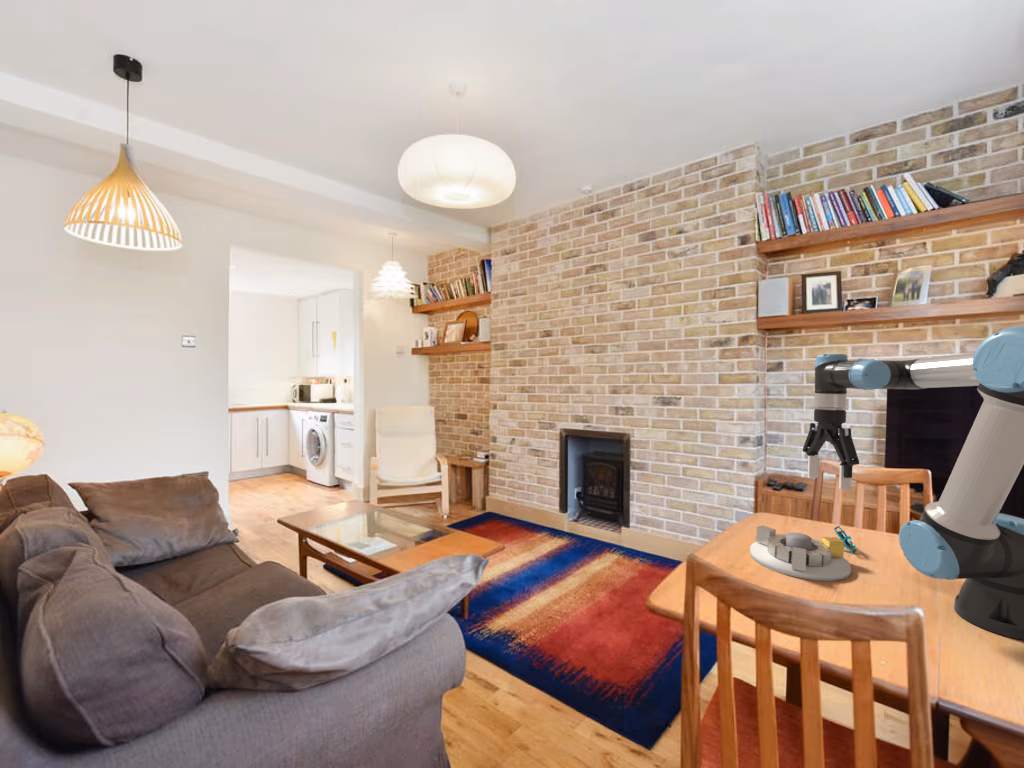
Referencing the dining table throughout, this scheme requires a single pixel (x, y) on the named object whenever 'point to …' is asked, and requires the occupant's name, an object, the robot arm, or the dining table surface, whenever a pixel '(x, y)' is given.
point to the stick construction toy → (845, 539)
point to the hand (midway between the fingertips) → (828, 483)
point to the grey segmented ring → (800, 549)
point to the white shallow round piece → (830, 572)
